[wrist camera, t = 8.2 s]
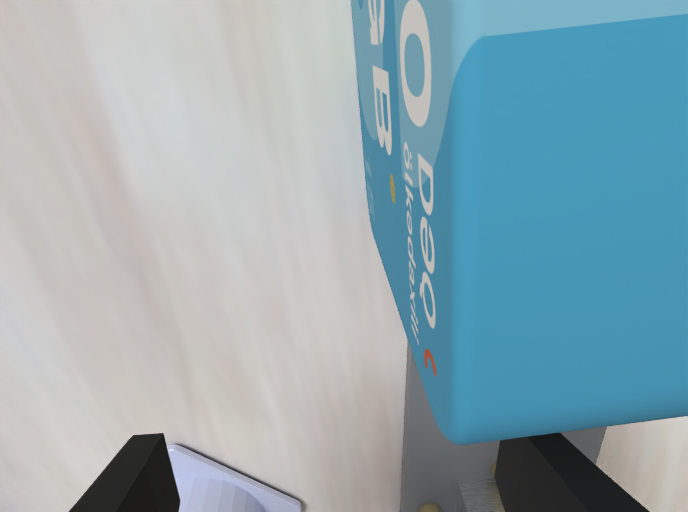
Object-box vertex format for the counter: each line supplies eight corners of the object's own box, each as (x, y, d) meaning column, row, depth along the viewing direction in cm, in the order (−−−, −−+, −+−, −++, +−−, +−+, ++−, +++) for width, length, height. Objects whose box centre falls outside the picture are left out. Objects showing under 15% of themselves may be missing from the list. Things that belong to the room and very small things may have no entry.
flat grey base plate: (551, 579, 30) (581, 645, 26) (396, 593, 29) (407, 662, 26) (631, 294, 21) (691, 342, 17) (409, 306, 20) (428, 358, 17)
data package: (336, -162, 13) (463, -1020, 2) (492, -178, 13) (1263, -1073, 3) (368, 225, 18) (455, 492, 8) (480, 212, 19) (722, 457, 8)
